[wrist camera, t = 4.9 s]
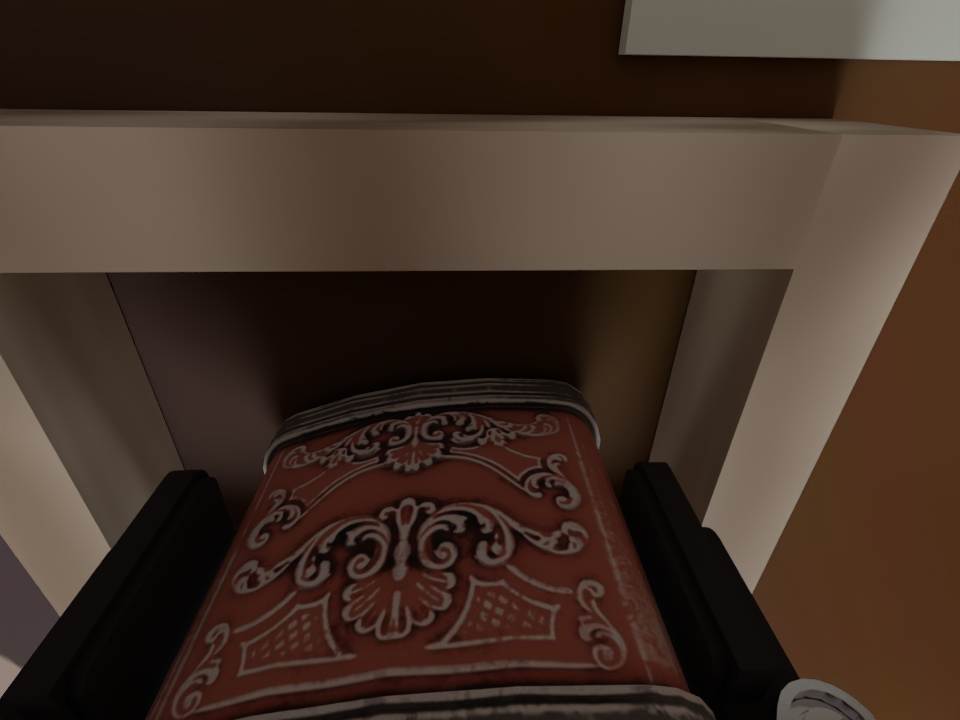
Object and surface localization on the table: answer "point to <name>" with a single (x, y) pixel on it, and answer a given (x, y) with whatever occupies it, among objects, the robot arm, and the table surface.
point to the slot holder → (450, 247)
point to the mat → (794, 29)
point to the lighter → (432, 572)
